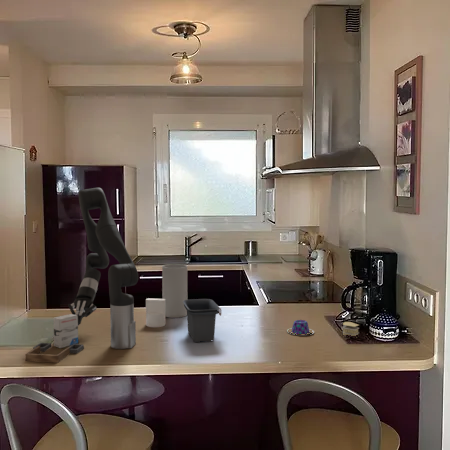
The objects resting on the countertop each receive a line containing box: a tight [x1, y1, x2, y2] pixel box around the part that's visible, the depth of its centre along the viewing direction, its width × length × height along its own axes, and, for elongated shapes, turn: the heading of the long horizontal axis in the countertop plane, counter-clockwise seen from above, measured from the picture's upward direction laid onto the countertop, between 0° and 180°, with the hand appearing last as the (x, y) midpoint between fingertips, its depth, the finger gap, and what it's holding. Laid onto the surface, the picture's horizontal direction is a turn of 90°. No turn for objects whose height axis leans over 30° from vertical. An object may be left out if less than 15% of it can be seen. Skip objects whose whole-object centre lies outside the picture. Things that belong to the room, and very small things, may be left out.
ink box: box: [52, 313, 79, 349], centre depth 195 cm, size 8×5×12 cm, turn 141°
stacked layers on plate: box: [342, 321, 360, 336], centre depth 209 cm, size 10×9×6 cm
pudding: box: [286, 319, 315, 336], centre depth 214 cm, size 12×12×5 cm
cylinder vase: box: [161, 263, 188, 319], centre depth 242 cm, size 12×12×25 cm
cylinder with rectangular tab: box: [145, 297, 166, 328], centre depth 225 cm, size 9×9×12 cm
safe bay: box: [24, 346, 71, 363], centre depth 181 cm, size 13×9×2 cm
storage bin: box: [183, 298, 222, 343], centre depth 207 cm, size 21×16×14 cm
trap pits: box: [32, 342, 85, 354], centre depth 189 cm, size 18×6×2 cm, turn 83°
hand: (76, 324), depth 205 cm, fingers closed
